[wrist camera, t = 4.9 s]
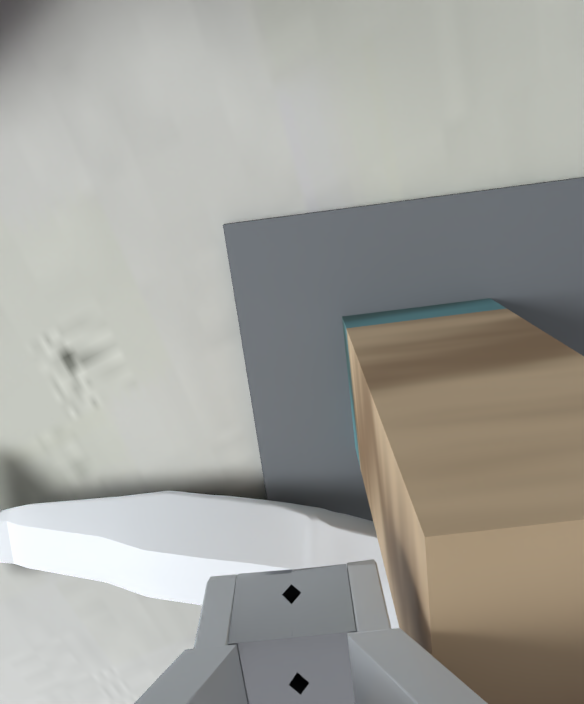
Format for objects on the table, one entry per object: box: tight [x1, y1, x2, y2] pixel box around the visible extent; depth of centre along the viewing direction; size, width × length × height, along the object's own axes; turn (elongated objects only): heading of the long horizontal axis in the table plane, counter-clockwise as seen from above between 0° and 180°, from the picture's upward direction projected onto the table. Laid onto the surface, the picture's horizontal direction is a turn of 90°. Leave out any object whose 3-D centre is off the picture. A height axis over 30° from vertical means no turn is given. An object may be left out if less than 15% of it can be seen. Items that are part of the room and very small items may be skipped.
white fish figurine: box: [0, 491, 399, 629], centre depth 20 cm, size 6×18×4 cm, turn 89°
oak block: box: [342, 298, 584, 704], centre depth 14 cm, size 5×5×12 cm
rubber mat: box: [223, 177, 584, 521], centre depth 20 cm, size 12×22×1 cm, turn 97°
